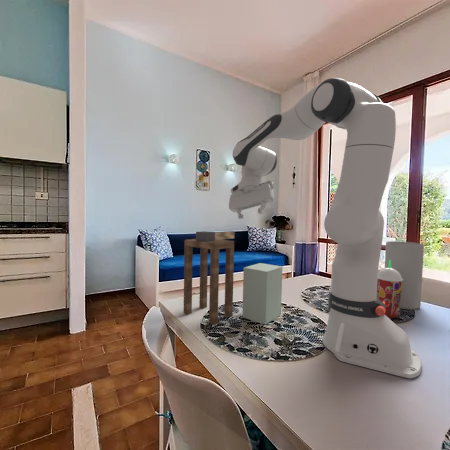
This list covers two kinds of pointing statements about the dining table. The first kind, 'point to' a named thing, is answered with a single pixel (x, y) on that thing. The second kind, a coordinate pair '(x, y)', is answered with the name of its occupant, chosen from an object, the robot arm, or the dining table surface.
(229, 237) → the mallet
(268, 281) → the pale green block
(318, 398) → the dining table surface
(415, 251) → the cylinder vase
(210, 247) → the plant stand
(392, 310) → the smoothie
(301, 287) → the dining table surface
